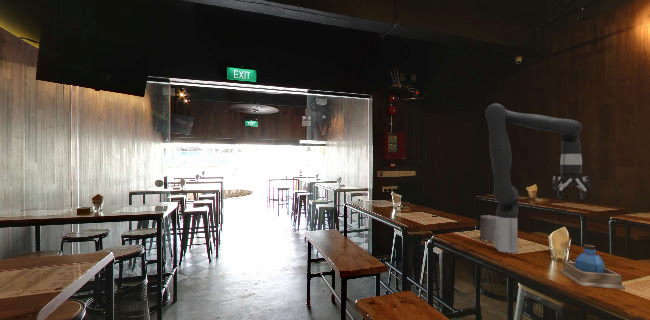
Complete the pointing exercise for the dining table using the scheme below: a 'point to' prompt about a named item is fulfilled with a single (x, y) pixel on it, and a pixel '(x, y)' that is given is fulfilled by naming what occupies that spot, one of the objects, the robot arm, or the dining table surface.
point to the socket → (593, 277)
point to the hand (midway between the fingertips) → (571, 198)
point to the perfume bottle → (590, 261)
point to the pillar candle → (487, 227)
